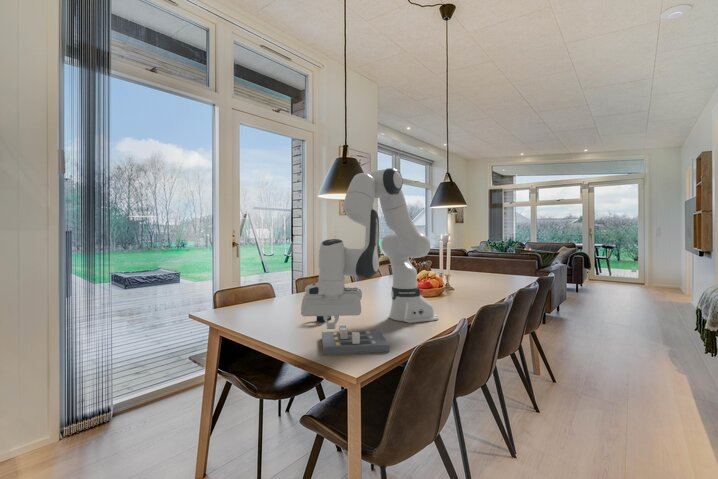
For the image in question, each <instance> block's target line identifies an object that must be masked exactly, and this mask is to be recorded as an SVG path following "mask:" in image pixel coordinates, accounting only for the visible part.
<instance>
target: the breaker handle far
mask: <svg viewBox="0 0 718 479" xmlns="http://www.w3.org/2000/svg"><path fill="white" fill-rule="evenodd" d="M340 328H347V324H346V323H338V331H339V334H340Z"/></svg>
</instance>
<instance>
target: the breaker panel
mask: <svg viewBox="0 0 718 479" xmlns="http://www.w3.org/2000/svg"><path fill="white" fill-rule="evenodd" d="M352 332H359V334H360V344H353V343H352ZM321 342H322V343H321V344H322V351H323V356H331V355H333V356H334V355H353V354H370V353H371V352H376V353H385V352H384V351H389V352H390V344H389V342H388V341H387V339H386V338H385V336H384V335H383V333H382V331H381V330H380V329H368V330H363V329H362V330H348V339H341V338H340V334H339V330H338V331H322V332H321ZM371 354H372V353H371Z"/></svg>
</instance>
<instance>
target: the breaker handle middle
mask: <svg viewBox="0 0 718 479" xmlns="http://www.w3.org/2000/svg"><path fill="white" fill-rule="evenodd" d="M348 331H349V330H348V328H347V327H346V328H340V338H341V339H348Z"/></svg>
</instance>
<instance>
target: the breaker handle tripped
mask: <svg viewBox="0 0 718 479" xmlns="http://www.w3.org/2000/svg"><path fill="white" fill-rule="evenodd" d="M352 343H353V344H360V334H359V332H352Z"/></svg>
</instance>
